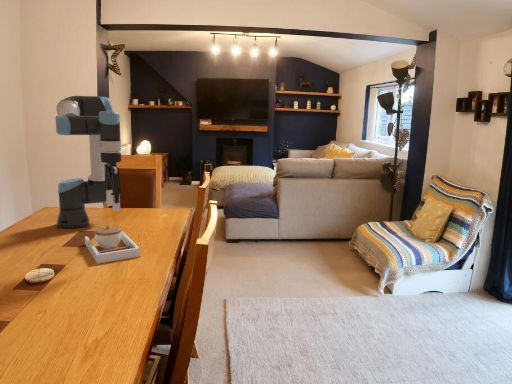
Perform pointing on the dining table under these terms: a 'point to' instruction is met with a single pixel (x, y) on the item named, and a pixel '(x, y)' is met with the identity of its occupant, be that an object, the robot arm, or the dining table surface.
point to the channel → (115, 254)
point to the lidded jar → (108, 236)
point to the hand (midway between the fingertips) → (113, 208)
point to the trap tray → (114, 249)
